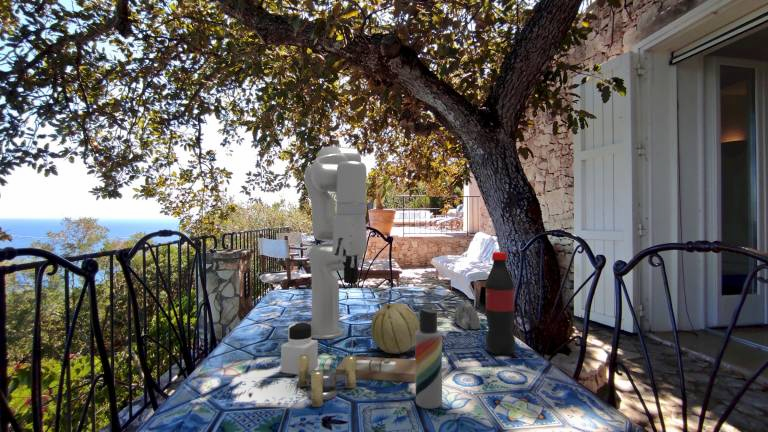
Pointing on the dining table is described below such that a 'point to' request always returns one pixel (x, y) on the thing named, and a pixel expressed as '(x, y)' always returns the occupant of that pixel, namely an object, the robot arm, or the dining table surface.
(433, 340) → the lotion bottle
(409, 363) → the level board
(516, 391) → the dining table surface
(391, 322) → the cantaloupe
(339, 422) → the dining table surface
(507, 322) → the cola bottle
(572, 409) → the dining table surface
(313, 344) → the medicine bottle
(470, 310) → the mineral rock
